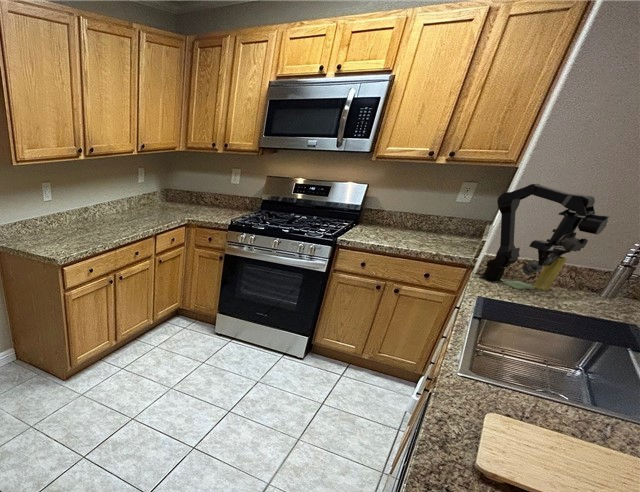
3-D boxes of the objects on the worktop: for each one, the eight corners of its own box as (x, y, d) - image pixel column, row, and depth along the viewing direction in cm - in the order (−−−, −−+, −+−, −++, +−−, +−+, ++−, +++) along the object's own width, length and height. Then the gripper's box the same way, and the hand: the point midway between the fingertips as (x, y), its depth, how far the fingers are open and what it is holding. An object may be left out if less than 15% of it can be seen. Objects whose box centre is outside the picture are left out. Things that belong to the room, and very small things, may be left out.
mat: (502, 283, 195) (502, 281, 194) (517, 282, 196) (518, 280, 196) (518, 289, 188) (519, 287, 188) (534, 288, 190) (535, 286, 189)
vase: (531, 284, 194) (550, 254, 186) (548, 287, 191) (567, 256, 183) (533, 288, 190) (551, 257, 182) (550, 291, 187) (569, 260, 179)
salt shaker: (533, 264, 187) (562, 251, 176) (533, 276, 186) (563, 264, 174) (521, 262, 187) (549, 249, 175) (521, 274, 186) (550, 261, 174)
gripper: (564, 233, 164) (541, 271, 172) (606, 233, 165) (581, 271, 174) (539, 226, 173) (518, 262, 182) (579, 226, 174) (556, 263, 183)
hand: (543, 265), depth 180 cm, fingers closed on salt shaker, 3 cm apart
